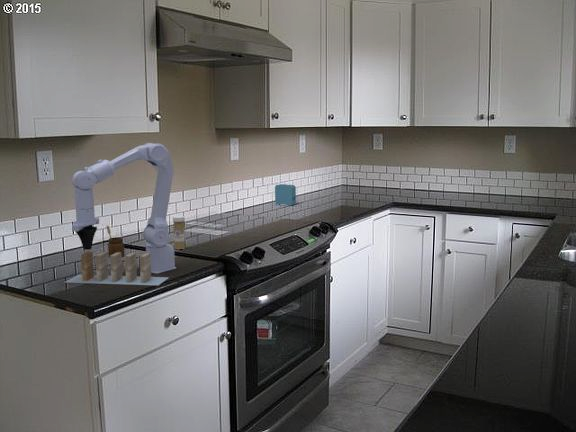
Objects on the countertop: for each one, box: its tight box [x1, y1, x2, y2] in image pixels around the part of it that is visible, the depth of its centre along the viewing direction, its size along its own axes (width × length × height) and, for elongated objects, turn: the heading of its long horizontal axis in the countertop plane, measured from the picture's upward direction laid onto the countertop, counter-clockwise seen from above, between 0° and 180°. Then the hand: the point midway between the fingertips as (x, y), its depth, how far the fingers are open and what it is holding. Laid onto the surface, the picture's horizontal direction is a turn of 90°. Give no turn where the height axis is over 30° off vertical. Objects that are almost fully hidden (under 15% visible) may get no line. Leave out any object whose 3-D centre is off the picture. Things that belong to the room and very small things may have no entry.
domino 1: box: [80, 251, 95, 281], centre depth 210 cm, size 2×5×9 cm, turn 171°
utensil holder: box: [106, 225, 125, 258], centre depth 245 cm, size 6×6×12 cm
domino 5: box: [139, 252, 152, 283], centre depth 206 cm, size 2×5×9 cm, turn 170°
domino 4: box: [124, 252, 138, 282], centre depth 207 cm, size 2×5×9 cm, turn 170°
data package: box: [274, 183, 297, 206], centre depth 379 cm, size 12×4×12 cm, turn 58°
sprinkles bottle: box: [172, 215, 186, 251], centre depth 256 cm, size 5×5×14 cm
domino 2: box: [95, 251, 109, 281], centre depth 209 cm, size 2×5×9 cm, turn 171°
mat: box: [64, 274, 170, 286], centre depth 209 cm, size 32×10×1 cm, turn 80°
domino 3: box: [109, 252, 124, 282], centre depth 208 cm, size 2×5×9 cm, turn 170°
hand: (87, 249), depth 209 cm, fingers closed
